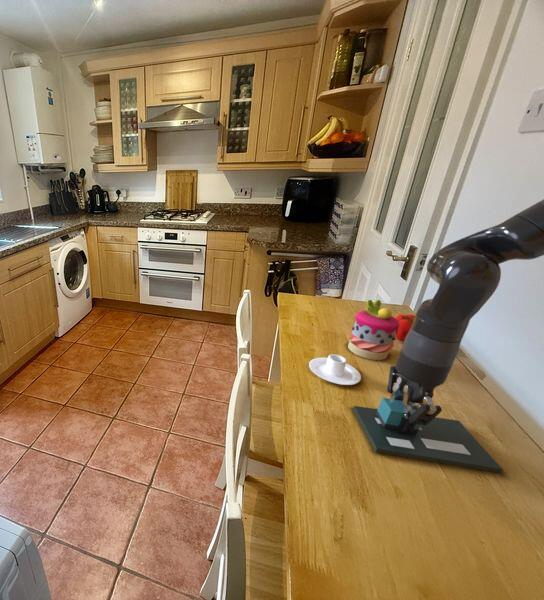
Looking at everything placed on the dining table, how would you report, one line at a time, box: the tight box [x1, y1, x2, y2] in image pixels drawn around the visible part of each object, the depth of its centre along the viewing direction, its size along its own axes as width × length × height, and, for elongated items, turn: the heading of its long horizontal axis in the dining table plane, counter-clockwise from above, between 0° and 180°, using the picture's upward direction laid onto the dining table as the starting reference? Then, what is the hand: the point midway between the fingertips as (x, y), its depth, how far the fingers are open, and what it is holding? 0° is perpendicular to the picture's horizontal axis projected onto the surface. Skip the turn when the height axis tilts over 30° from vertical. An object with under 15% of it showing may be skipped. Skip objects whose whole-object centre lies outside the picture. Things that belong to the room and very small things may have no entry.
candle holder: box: [308, 353, 362, 386], centre depth 83 cm, size 12×12×4 cm
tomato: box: [394, 313, 416, 342], centre depth 99 cm, size 9×9×8 cm
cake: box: [347, 299, 400, 361], centre depth 91 cm, size 10×11×15 cm
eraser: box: [376, 397, 421, 433], centre depth 65 cm, size 6×4×4 cm, turn 77°
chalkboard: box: [352, 405, 504, 474], centre depth 64 cm, size 20×12×1 cm, turn 77°
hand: (398, 423), depth 66 cm, fingers closed on eraser, 4 cm apart
